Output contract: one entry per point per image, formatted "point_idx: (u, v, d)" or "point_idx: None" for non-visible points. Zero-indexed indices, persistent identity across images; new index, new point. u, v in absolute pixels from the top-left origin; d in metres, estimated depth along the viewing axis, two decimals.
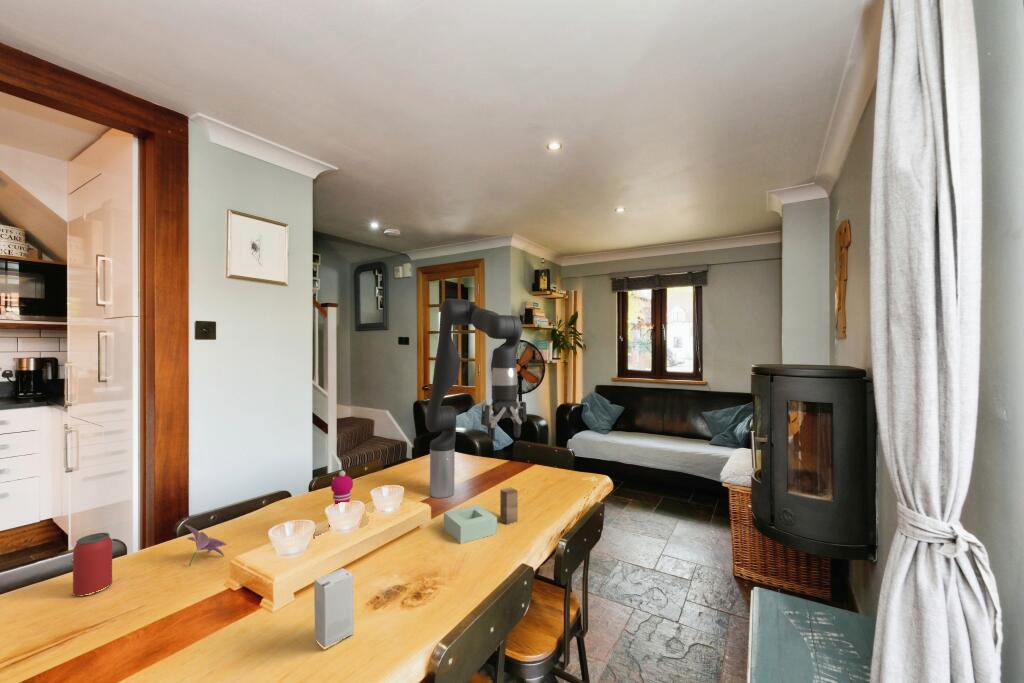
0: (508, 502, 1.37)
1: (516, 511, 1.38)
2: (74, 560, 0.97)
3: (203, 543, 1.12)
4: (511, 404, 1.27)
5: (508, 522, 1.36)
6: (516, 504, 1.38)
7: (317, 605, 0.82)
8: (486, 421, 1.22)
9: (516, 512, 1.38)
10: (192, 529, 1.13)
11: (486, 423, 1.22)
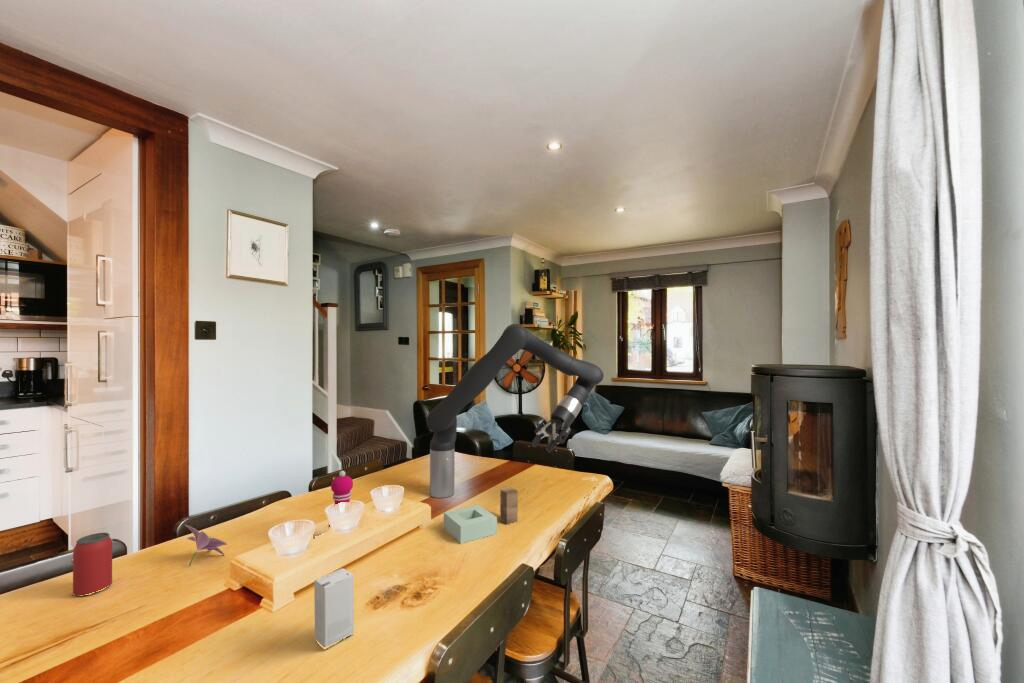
0: (508, 502, 1.37)
1: (516, 511, 1.38)
2: (74, 560, 0.97)
3: (203, 543, 1.13)
4: None
5: (508, 522, 1.36)
6: (516, 504, 1.38)
7: (317, 605, 0.82)
8: None
9: (516, 512, 1.38)
10: (192, 529, 1.13)
11: None
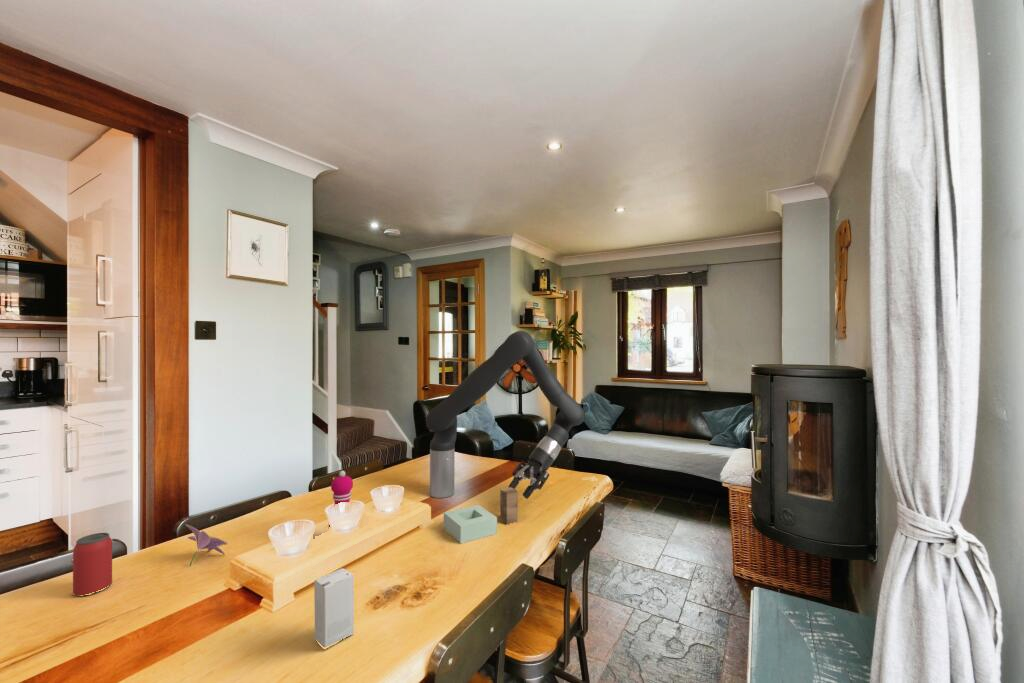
0: (508, 502, 1.37)
1: (516, 511, 1.38)
2: (74, 560, 0.97)
3: (204, 542, 1.13)
4: None
5: (508, 522, 1.36)
6: (516, 504, 1.38)
7: (317, 605, 0.82)
8: None
9: (516, 512, 1.38)
10: (193, 528, 1.13)
11: None
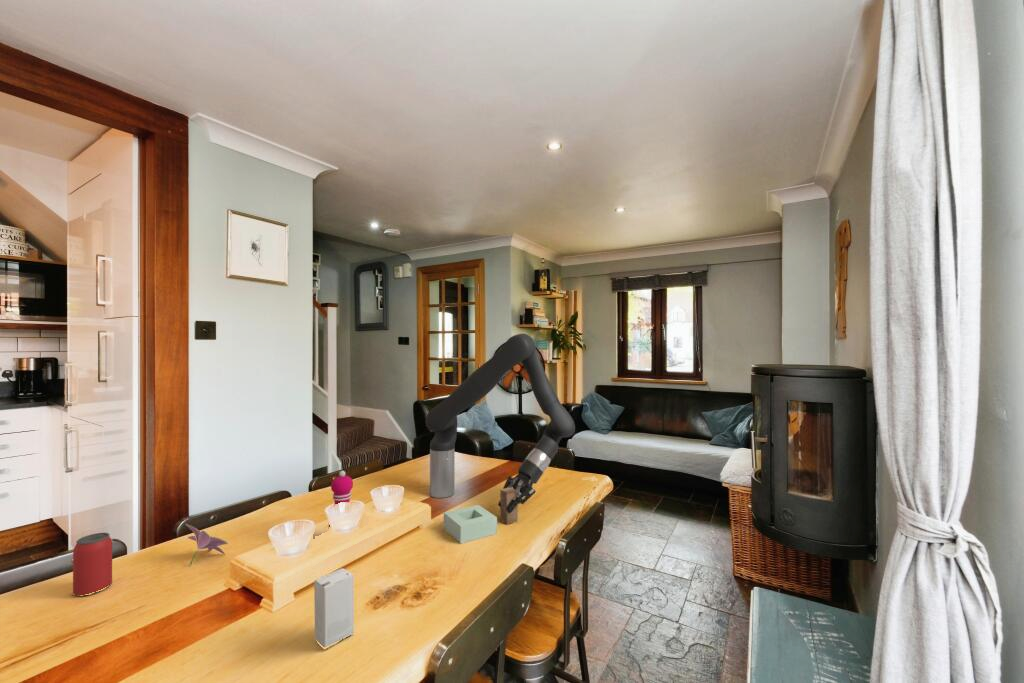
0: (508, 502, 1.37)
1: (516, 511, 1.38)
2: (74, 560, 0.97)
3: (204, 542, 1.13)
4: None
5: (508, 522, 1.37)
6: None
7: (317, 605, 0.82)
8: None
9: (516, 512, 1.38)
10: (193, 528, 1.13)
11: None
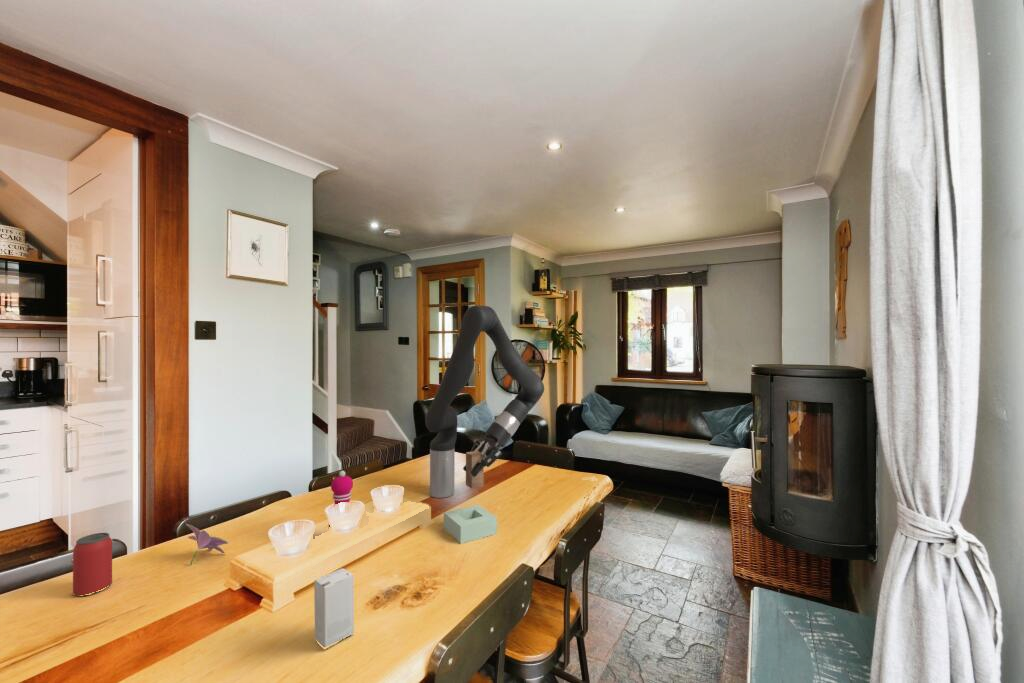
0: (473, 465, 1.30)
1: (482, 475, 1.32)
2: (74, 560, 0.97)
3: (204, 542, 1.13)
4: None
5: (473, 486, 1.30)
6: None
7: (317, 605, 0.82)
8: None
9: (482, 476, 1.32)
10: (193, 528, 1.14)
11: None
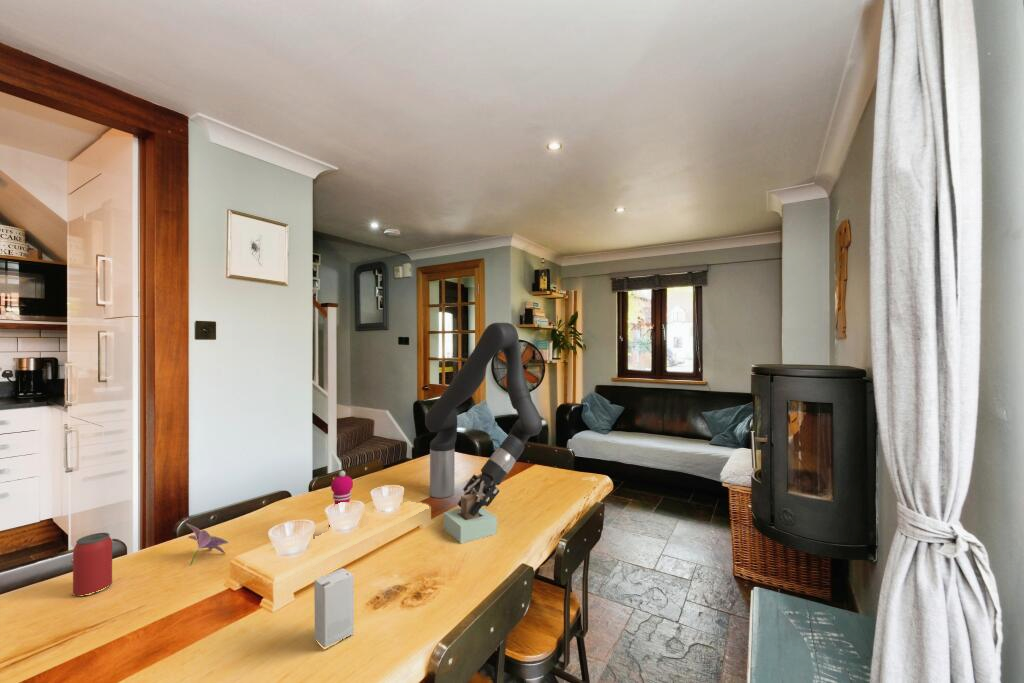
0: (468, 509, 1.29)
1: None
2: (74, 560, 0.97)
3: (205, 541, 1.13)
4: None
5: None
6: None
7: (317, 605, 0.82)
8: None
9: None
10: (193, 528, 1.14)
11: None
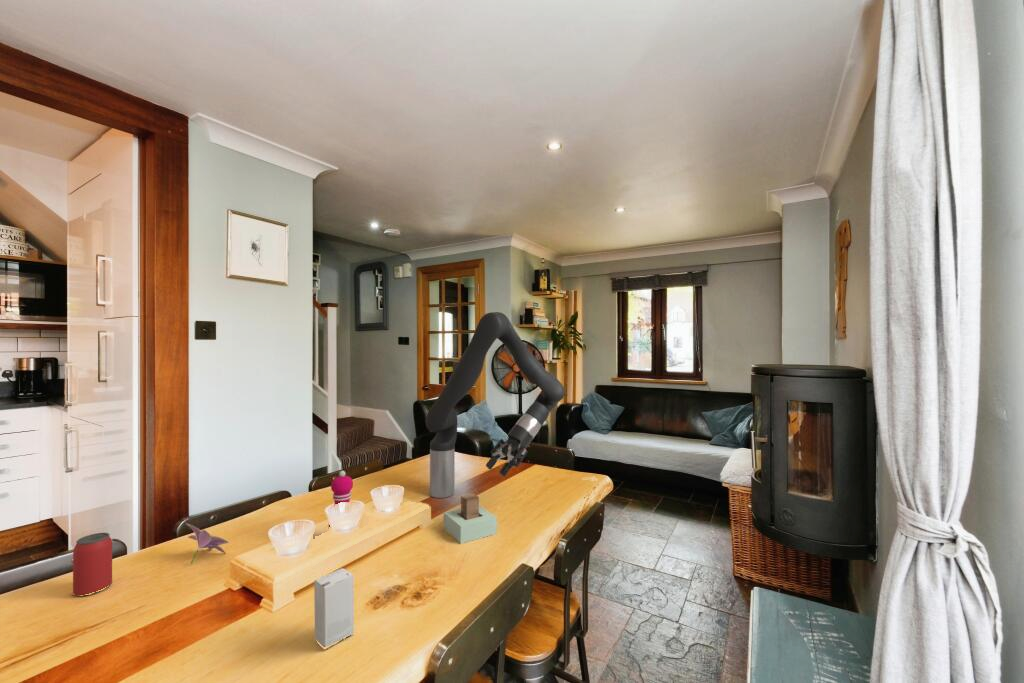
0: (468, 509, 1.29)
1: None
2: (74, 560, 0.97)
3: (205, 541, 1.14)
4: None
5: None
6: (477, 511, 1.31)
7: (317, 605, 0.82)
8: None
9: None
10: (194, 527, 1.14)
11: None
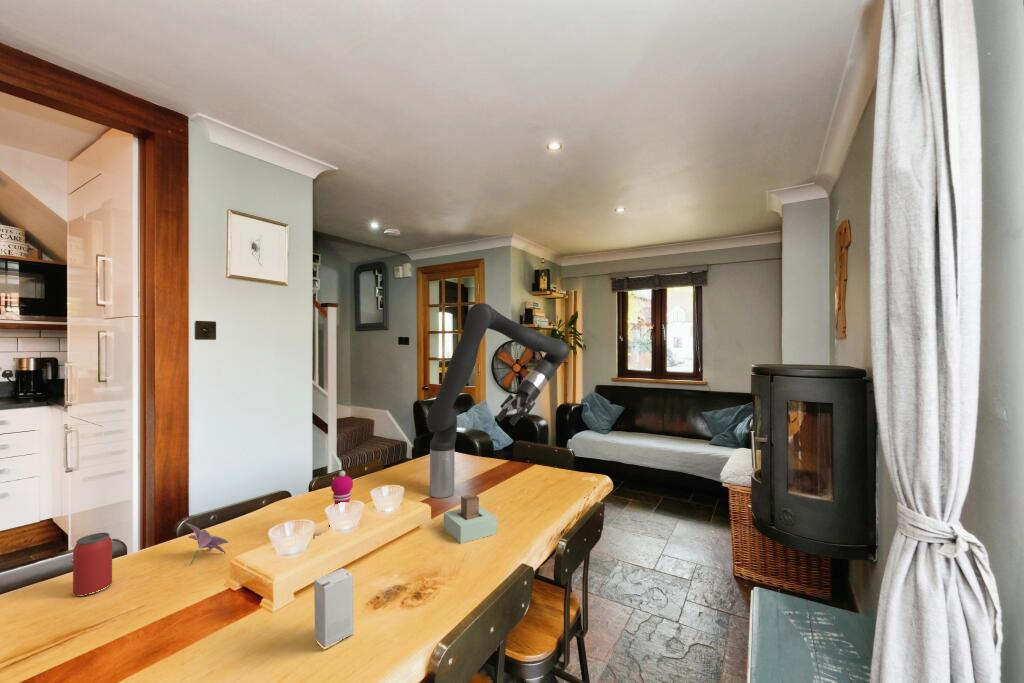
0: (468, 509, 1.29)
1: None
2: (74, 560, 0.97)
3: (205, 541, 1.14)
4: None
5: None
6: (477, 511, 1.31)
7: (317, 605, 0.82)
8: None
9: None
10: (194, 527, 1.14)
11: None
